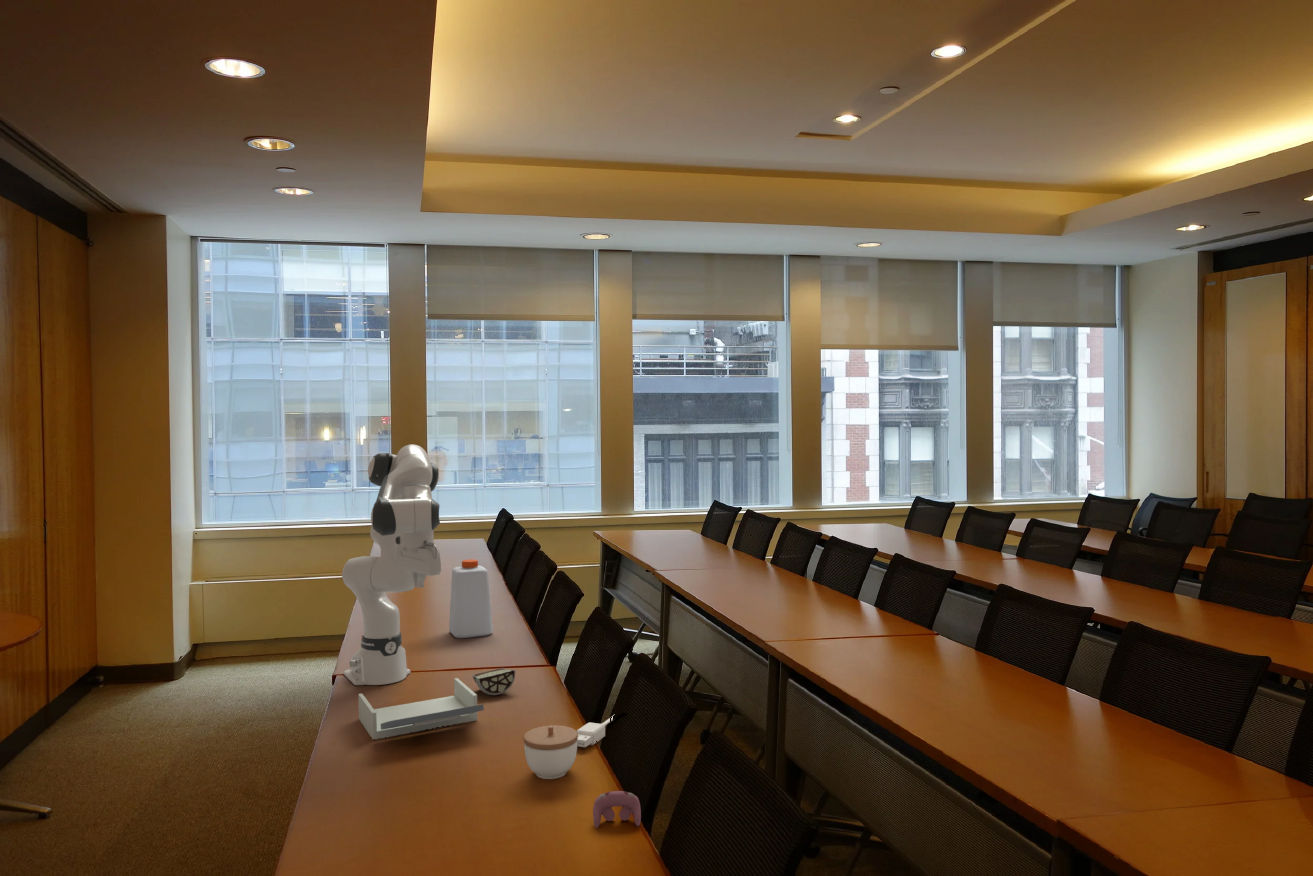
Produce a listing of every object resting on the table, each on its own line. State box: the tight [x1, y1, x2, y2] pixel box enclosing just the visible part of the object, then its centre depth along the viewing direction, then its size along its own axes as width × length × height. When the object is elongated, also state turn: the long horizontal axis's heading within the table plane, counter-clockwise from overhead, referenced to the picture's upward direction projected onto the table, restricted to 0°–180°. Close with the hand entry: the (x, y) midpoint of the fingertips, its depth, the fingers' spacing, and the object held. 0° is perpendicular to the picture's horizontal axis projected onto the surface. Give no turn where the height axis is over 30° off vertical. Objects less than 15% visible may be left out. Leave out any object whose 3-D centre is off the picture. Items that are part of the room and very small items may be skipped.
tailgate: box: [381, 703, 485, 730], centre depth 231 cm, size 2×24×12 cm
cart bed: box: [358, 677, 478, 740], centre depth 244 cm, size 18×28×7 cm, turn 120°
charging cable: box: [576, 715, 614, 748], centre depth 237 cm, size 5×32×3 cm, turn 159°
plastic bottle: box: [448, 558, 494, 639], centre depth 338 cm, size 15×15×28 cm
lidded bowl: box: [523, 724, 578, 780], centre depth 207 cm, size 13×13×11 cm
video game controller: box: [592, 790, 642, 829], centre depth 183 cm, size 10×5×7 cm, turn 93°
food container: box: [472, 667, 516, 696], centre depth 268 cm, size 12×6×10 cm
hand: (418, 587), depth 257 cm, fingers closed
